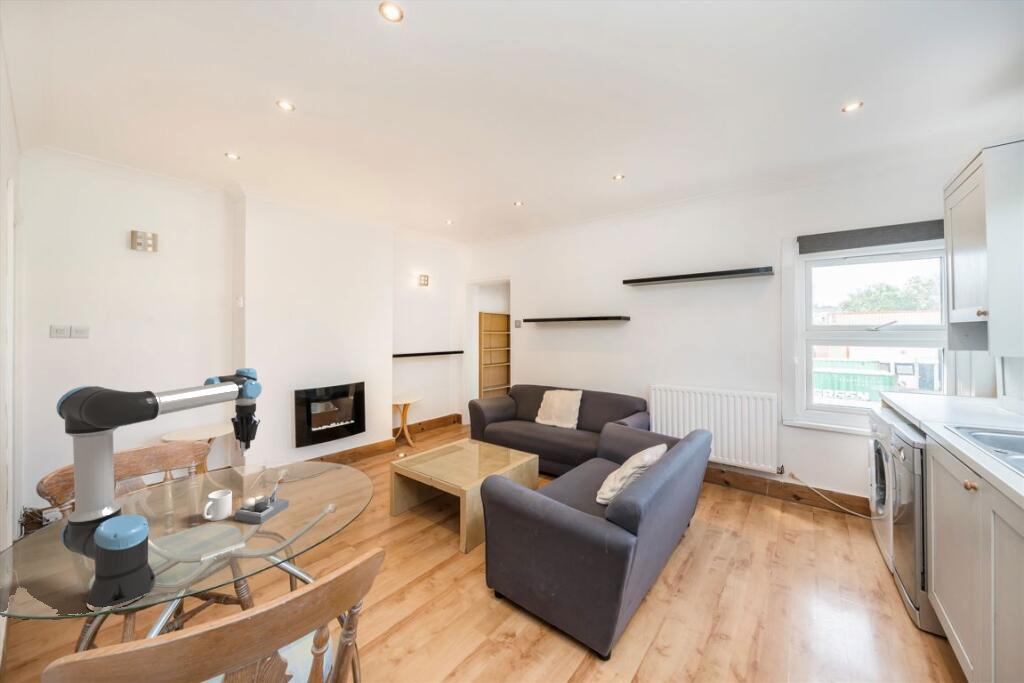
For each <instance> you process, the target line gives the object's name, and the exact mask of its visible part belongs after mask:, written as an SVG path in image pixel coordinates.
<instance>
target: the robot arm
mask: <svg viewBox="0 0 1024 683" xmlns="http://www.w3.org/2000/svg"><path fill="white" fill-rule="evenodd" d="M262 389H263V387H262V384H261V383H260V382H259V381H258V375H257V370H256V369H255V368H238V369H236V370H235V374H230V375H221V376H213V377H208V378H206V380H205V381H204V383H203V385H198V386H192V387H191V386H190V387H185V388H184V387H183V388H178V389H177V388H176V389H172V390H166V391H165V390H164V391H158V392H153V390H145V391H144V390H142V391H122V390H116V389H112V388H105V387H102V386H98V385H97V386H96V385H95V386H92V385H86V386H85V385H84V386H79V387H76V388H73V389H70V390H68V391H67V392H66V393H64V394H63V395H62V396H61V397H60V398H59V400H58V401H57V404H56V413H57V414H58V416H59V417H60V418H61V419H63V421H64V432H65V434H66V435H68V436H70V437H71V438H72V443H73V444H72V448H73V480H74V481H73V482H74V511H72V512H71V513H70V514H69V515H68V516H67V523H66V524H65V525H64V526H63V528H62V530H61V533H60V542H61V543H62V545H63V546H64V547H65V548H66V549H67V550H69V551H70V552H72V553H75V554H79V555H81V556H84V557H86V558H88V559H90V560H94V580H93V583H92V585H91V588H90V589H89V590H90V591H89V593H88V594H87V597H86V599H85V600H86V602H87V603H88V604H89V605H92V606H94V607H102V608H103V607H107V606H114V605H117V604H120V603H123V602H126V601H129V600H132V599H135V598H137V597H140V596H143V595H144V594H146V593H148V592H149V591H150V590H151V589H152V588H153V587H155V586H156V575H155V573H154V571H153V569H152V567H151V566H150V563H149V533H150V527H149V523H148V519H147V518H146V517H144V516H143V515H140V514H130V515H129V514H122V504H121V503H120V502H117V501H115V470H114V469H115V463H114V462H115V460H114V455H115V454H114V432H115V431H116V430H117V429H118V428H119V427H124V426H129V425H135V424H140V423H143V422H148V421H149V422H150V421H152V420H155V419H157V418H158V416H162V415H168V414H172V413H176V412H180V411H181V412H182V411H187V410H191V409H197V408H202V407H205V406H206V407H207V406H211V405H212V406H213V405H216V404H222V403H226V402H232V401H235V408H234V409H235V413H236V414H235V416H234V417H231V418H230V421H231V423H232V427H233V432H234V437H235V440H238V441H239V448H240V457H243V458H245V457H247V456H249V455H250V448H251V442H252V441H254V440H256V436H257V431H258V426H259V425H260V423H261V420H260V419H257V418H256V414H255V413H256V411H257V403H256V402H257V398H258V397H259V396H260V395H261V393H262V391H263V390H262ZM154 585H155V586H154ZM153 589H154V588H153ZM153 589H152V590H153ZM152 590H151V591H152ZM151 591H150V592H151ZM150 592H149V593H150ZM149 593H148V594H149Z"/></svg>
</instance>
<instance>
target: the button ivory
mask: <svg viewBox="0 0 1024 683" xmlns="http://www.w3.org/2000/svg"><path fill="white" fill-rule="evenodd" d="M255 502H256V498H255V497H247V498H245V499H242V506H243V509H249V508H252V507H254V506H255Z"/></svg>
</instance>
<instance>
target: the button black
mask: <svg viewBox="0 0 1024 683" xmlns="http://www.w3.org/2000/svg"><path fill="white" fill-rule="evenodd" d="M265 510H267V503H266V502H259V503H256V504H255V512H257V513H262V512H264V511H265Z"/></svg>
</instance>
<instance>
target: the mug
mask: <svg viewBox="0 0 1024 683" xmlns="http://www.w3.org/2000/svg"><path fill="white" fill-rule="evenodd" d="M232 500H233V491H232V490H231V489H220V490H215V491H213V492H211V493H209V494H208V495H207V503H205V505H204V507H203V508H202V511H201V512H202V518H203V519H204V520H208V521H212V522H219V521H222V520H225V519H227V518H229V517H230V516H231V514H232V507H233V506H232V505H233V501H232Z"/></svg>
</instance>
